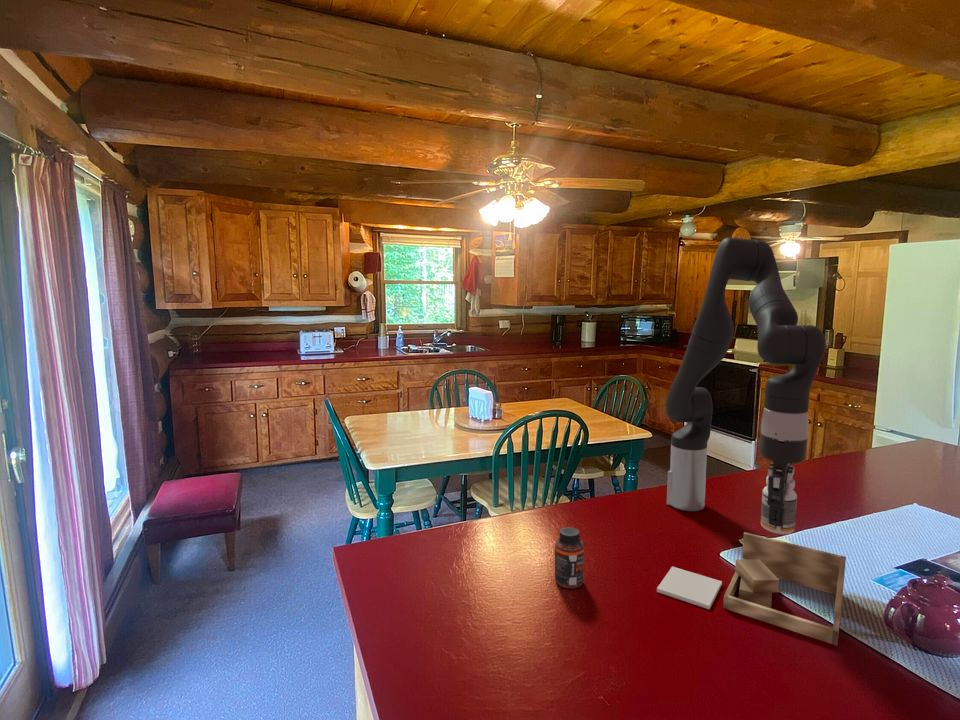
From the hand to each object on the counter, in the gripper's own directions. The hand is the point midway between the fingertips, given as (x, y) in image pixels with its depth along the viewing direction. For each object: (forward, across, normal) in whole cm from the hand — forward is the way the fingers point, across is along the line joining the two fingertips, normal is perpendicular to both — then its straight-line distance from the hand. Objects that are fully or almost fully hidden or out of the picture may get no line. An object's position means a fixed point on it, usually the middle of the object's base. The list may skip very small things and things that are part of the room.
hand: (777, 518), depth 99 cm
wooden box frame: (+17, -1, +2) cm, 17 cm away
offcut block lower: (+18, -1, -3) cm, 18 cm away
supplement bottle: (+17, +16, -35) cm, 43 cm away
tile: (+17, +5, -14) cm, 23 cm away
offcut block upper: (+15, -1, -3) cm, 15 cm away
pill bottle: (+2, 0, 0) cm, 2 cm away
